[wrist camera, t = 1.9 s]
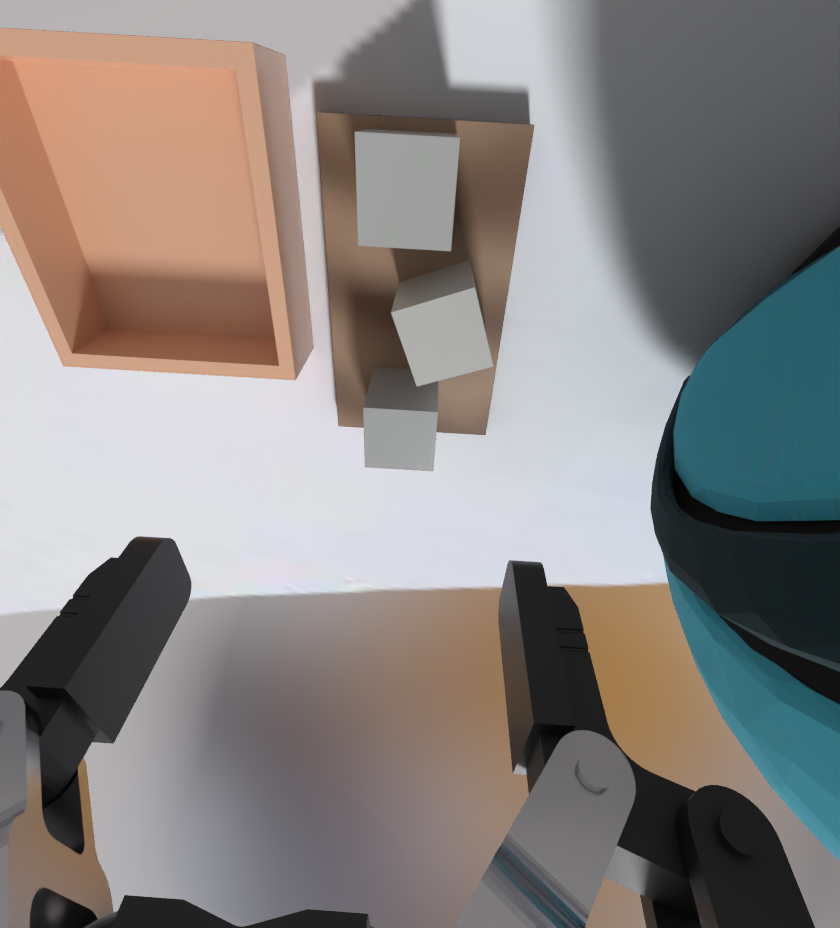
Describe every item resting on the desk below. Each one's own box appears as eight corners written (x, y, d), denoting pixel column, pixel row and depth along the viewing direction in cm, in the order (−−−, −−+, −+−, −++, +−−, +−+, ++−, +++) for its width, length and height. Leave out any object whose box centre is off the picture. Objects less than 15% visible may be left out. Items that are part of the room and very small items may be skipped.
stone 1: (370, 128, 22) (354, 131, 18) (457, 133, 22) (460, 137, 18) (372, 224, 24) (358, 245, 20) (449, 228, 24) (450, 251, 20)
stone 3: (374, 367, 29) (363, 407, 25) (438, 371, 29) (437, 412, 25) (375, 422, 31) (365, 467, 27) (434, 425, 31) (433, 471, 27)
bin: (-1, 38, 21) (-92, 22, 17) (285, 55, 21) (252, 42, 17) (109, 335, 29) (63, 366, 26) (313, 347, 29) (295, 380, 26)
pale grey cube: (399, 282, 26) (390, 312, 22) (469, 259, 25) (474, 287, 21) (420, 347, 28) (416, 386, 24) (485, 329, 27) (493, 366, 23)
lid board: (321, 112, 22) (316, 112, 21) (530, 124, 22) (534, 124, 21) (341, 416, 32) (338, 426, 31) (484, 425, 32) (485, 435, 31)
